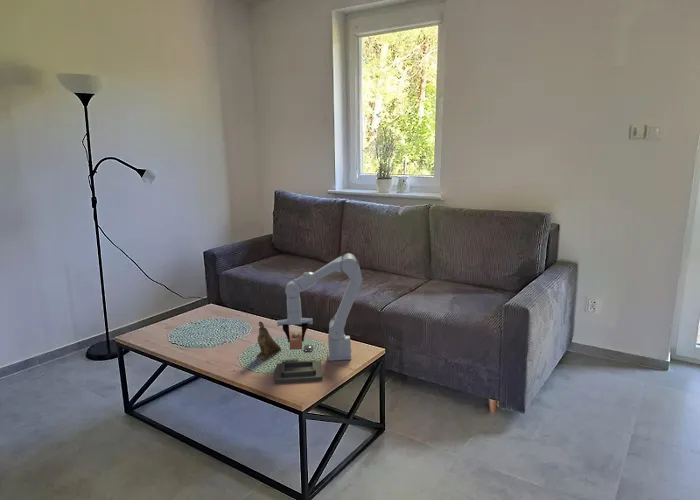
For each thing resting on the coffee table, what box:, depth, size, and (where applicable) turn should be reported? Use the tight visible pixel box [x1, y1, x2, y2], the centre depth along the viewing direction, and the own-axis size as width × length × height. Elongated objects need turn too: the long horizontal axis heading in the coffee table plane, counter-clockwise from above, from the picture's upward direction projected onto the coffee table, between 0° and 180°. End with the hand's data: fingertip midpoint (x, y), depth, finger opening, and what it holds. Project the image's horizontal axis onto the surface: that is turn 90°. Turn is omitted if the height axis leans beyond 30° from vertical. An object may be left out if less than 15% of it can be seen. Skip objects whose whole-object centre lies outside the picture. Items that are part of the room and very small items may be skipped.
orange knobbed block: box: [289, 331, 303, 351], centre depth 207 cm, size 5×9×5 cm, turn 5°
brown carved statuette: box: [256, 321, 282, 361], centre depth 211 cm, size 12×6×18 cm, turn 144°
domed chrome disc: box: [303, 344, 314, 352], centre depth 217 cm, size 4×4×2 cm
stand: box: [274, 359, 323, 384], centre depth 196 cm, size 18×14×3 cm
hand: (296, 340), depth 208 cm, fingers closed on orange knobbed block, 5 cm apart
